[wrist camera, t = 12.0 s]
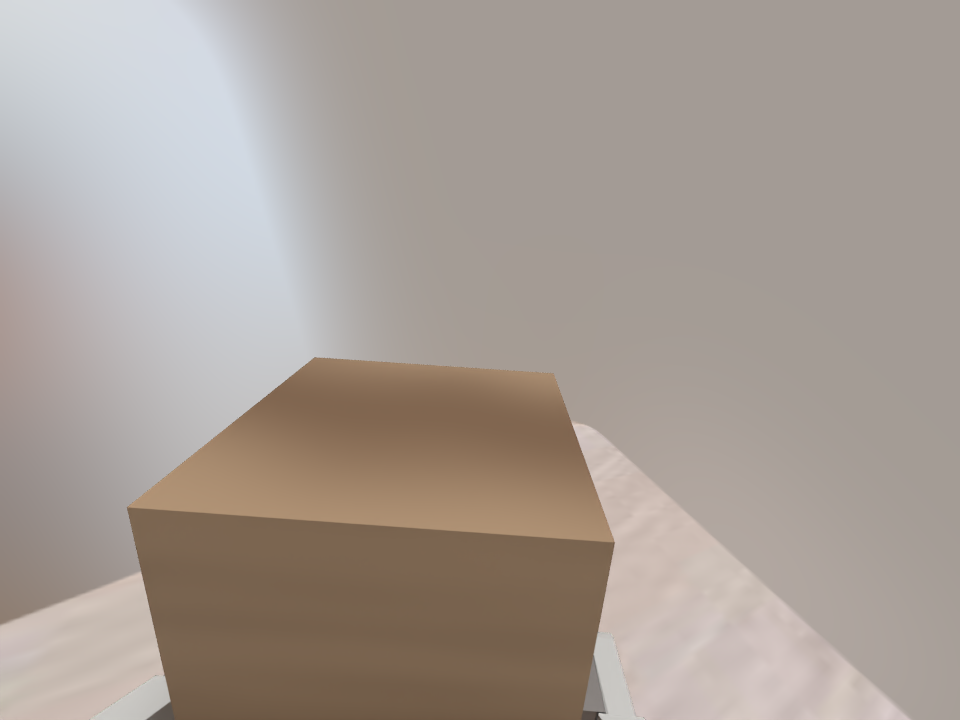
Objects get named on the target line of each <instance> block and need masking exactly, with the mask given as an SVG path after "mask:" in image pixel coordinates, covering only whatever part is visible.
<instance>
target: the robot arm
mask: <svg viewBox="0 0 960 720" xmlns="http://www.w3.org/2000/svg"><path fill="white" fill-rule="evenodd" d="M89 720H175V718H174V714H173V709H172V705H171V701H170V696H169V692H168V687H167V683H166V678H165V674H164V676H158V675H156V676H154V677H153V678H151V679H150V680H148V681H147V682H145V683H144V684H142V685H141V686H139V687H138V688H136V689H135V690H133V691H132V692H130V693H129V694H127V695H126V696H124V697H123V698H121V699H120V700H118V701H117V702H115V703H114V704H112V705H111V706H109V707H108V708H106V709H105V710H103V711H102V712H100V713H99V714H97V715H96V716H94V717H92V718H91V719H89ZM581 720H646V719H645V718H644V717H637V716H636V714H635V710H634V707H633V703H632V700H631V696H630V693H629V689H628V686H627V682H626V679H625V675H624V672H623V668H622V665H621V661H620V658H619V654H618V651H617V647H616V644H615V640H614V637H613V636H612V635H611V633H606V632H598V634H597V639H596V644H595V650H594V655H593V660H592V665H591V671H590V676H589V681H588V686H587V692H586V697H585V702H584V708H583V713H582V718H581Z"/></svg>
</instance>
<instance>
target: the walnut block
mask: <svg viewBox="0 0 960 720" xmlns="http://www.w3.org/2000/svg"><path fill="white" fill-rule="evenodd" d="M127 510H128V514H129V518H130V523H131V527H132V532H133V536H134V541H135V545H136V550H137V554H138V558H139V563H140V567H141V572H142V576H143V581H144V585H145V590H146V594H147V598H148V603H149V607H150V612H151V616H152V621H153V625H154V630H155V634H156V638H157V643H158V647H159V652H160V656H161V661H162V665H163V670H164V674H165V678H166V683H167V687H168V692H169V696H170V701H171V705H172V709H173V714H174V718H175V720H581V718H582V713H583V708H584V702H585V697H586V692H587V686H588V681H589V676H590V671H591V665H592V660H593V655H594V650H595V644H596V639H597V634H598V628H599V623H600V618H601V613H602V607H603V602H604V597H605V592H606V586H607V581H608V576H609V570H610V565H611V560H612V555H613V549H614V544H615V542H614V539H613V536H612V533H611V531H610V528H609V525H608V522H607V520H606V517H605V514H604V511H603V509H602V506H601V503H600V500H599V498H598V495H597V492H596V489H595V487H594V484H593V481H592V478H591V475H590V473H589V470H588V467H587V464H586V462H585V459H584V456H583V453H582V451H581V448H580V445H579V442H578V440H577V437H576V434H575V431H574V429H573V426H572V423H571V420H570V418H569V415H568V412H567V410H566V407H565V404H564V401H563V398H562V396H561V393H560V390H559V387H558V385H557V382H556V379H555V376H554V374H553V373H538V372H523V371H508V370H507V371H506V370H494V369H479V368H464V367H449V366H434V365H420V364H405V363H390V362H375V361H359V360H344V359H331V358H316V357H315V358H313V359H312V360H311V361H310V362H309V363H307V364H306V365H305V366H303V367H302V368H301V369H300V370H298V371H297V372H296V373H295V374H294V375H292V376H291V377H290V378H288V379H287V380H286V381H285V382H283V383H282V384H281V385H280V386H278V387H277V388H276V389H275V390H273V391H272V392H271V393H270V394H268V395H267V396H266V397H265V398H263V399H262V400H261V401H260V402H258V403H257V404H256V405H255V406H253V407H252V408H251V409H250V410H248V411H247V412H246V413H244V414H243V415H242V416H241V417H239V418H238V419H237V420H236V421H235V422H233V423H232V424H231V425H229V426H228V427H227V428H226V429H225V430H223V431H222V432H221V433H220V434H218V435H217V436H216V437H214V438H213V439H212V440H211V441H210V442H208V443H207V444H206V445H204V446H203V447H202V448H201V449H199V450H198V451H197V452H196V453H195V454H193V455H192V456H191V457H189V458H188V459H187V460H186V461H184V462H183V463H182V464H181V465H180V466H178V467H177V468H176V469H174V470H173V471H172V472H171V473H169V474H168V475H167V476H166V477H164V478H163V479H162V480H161V481H160V482H158V483H157V484H156V485H154V486H153V487H152V488H151V489H149V490H148V491H147V492H146V493H144V494H143V495H142V496H141V497H139V498H138V499H137V500H136V501H134V502H133V503H132V504H131V505H129V506H128V507H127Z"/></svg>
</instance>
